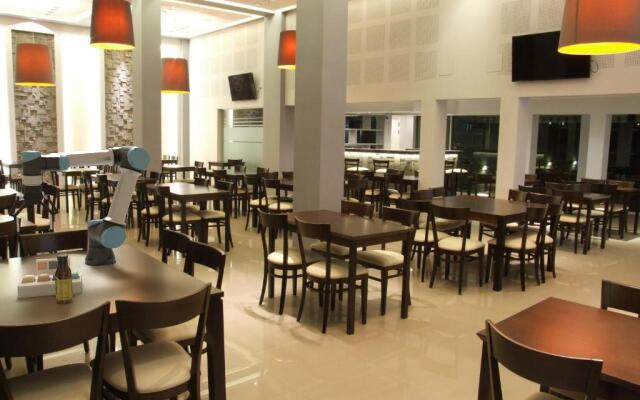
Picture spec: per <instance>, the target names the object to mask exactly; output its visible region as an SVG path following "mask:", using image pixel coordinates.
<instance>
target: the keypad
mask: <svg viewBox="0 0 640 400" xmlns="http://www.w3.org/2000/svg"><path fill="white" fill-rule="evenodd" d="M78 273H79V279H72V291H73V294H82V291H83V290H82V289H83V288H82V287H83V272H82V271H81V272H78ZM22 278H23V276H22V277H21V279H20V281H18V282H19V283H18V285H17V286H16V287H17V299H22V298H25V299H26V298H36V297H37V298H38V297H47V296H50V297H51V296H56V291H55V280H54V281H53V274H52V275H50V281H40V282H38V275H37V276H36V275H35V282H27V283H23V281H22Z"/></svg>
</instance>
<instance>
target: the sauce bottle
mask: <svg viewBox="0 0 640 400" xmlns="http://www.w3.org/2000/svg"><path fill="white" fill-rule="evenodd" d="M68 258H69V254H68V253H61V254H57V256H56V259H57V260H58V266H57V269H56V272H55V291H56V295H55V299H56V300H55V301H56V303H57V304H61V305H62V304H70V303H71V302H72V301H73V296H74V295H73V291H72V276H71V272H72V269H71V267H70V268H69V266H68Z"/></svg>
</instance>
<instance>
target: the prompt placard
mask: <svg viewBox="0 0 640 400" xmlns="http://www.w3.org/2000/svg"><path fill="white" fill-rule="evenodd" d="M57 266H58V260H57V258H42V259H36V260H35V271H36V272H35V273H36V275H35V276H37V275H39V274H50V275H52V274H54V273H55V272H56V269H57ZM68 266H69V268H70V269H71V257H68Z"/></svg>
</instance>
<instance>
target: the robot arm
mask: <svg viewBox="0 0 640 400" xmlns="http://www.w3.org/2000/svg"><path fill="white" fill-rule="evenodd" d="M150 162H151V156H150V153H149V152H148V150H147V149H146V148H143V147H141V146H138V145H123V146H118V147H117V146H115V147H108V148H107V149H105V150H89V151H88V150H87V151H72V152H70V151H69V152H57V153H55V152H54V153H46V152H45V153H41V151H39V150H29V151H28V150H26V151H25V150H24V151H23V152H22V154H21V164H22V167H21V168H22V181H23V182H22V183H23V195H16V197H15V201H14V203H13V205H12V207H11V209H10V211H9V213H8V216H9V217H11V218H13V224H14V225H16V232H17V233H18V232H20V224H19V223H20V222H19V215H20V213H21V212H22V211H23V210H24V209H25V208H26V207H27V206H28V205H30V206H33V205H35V206H38V205H40V206H42V207H43V208H44V209H45V210H46V211H47V212H48V213H49V228H50V230H53V223H55V221H56V220H55V216H56V215H57V214H59V210H58V208H57V207H56V206H55V204H54V202H53V201H52V199H51V194H49V193H48V194H43V185H42V183H43V178H42V172H62V171H68V170H69V168H78V167H92V166H94V167H95V166H104V165H105V166H106V165H107V166H109V167H119V170H120V175H119V178H118V182H117V184H116V188H115V191H114V194H113V197H112V200H111V203H110V207H109V210H108V213H107V216H105V217H104V218H102V219H92V220H89V221H87V226H86V227H87V248H88V249H87V251H86V255H85V257H84V263H85V264H86V265H88V266H103V265H109V264H113V263H115V262H116V259H117V258H116V254H115V251H114V249H118V248H119V247H121V246H122V245H123V244H124V243H125V242H126V239H127V233H126V228H127V223H126V221H125V220H126V217H127V214H128V211H129V207H130V203H131V201H132V197H133V194H134V190H135V188H136V186H137V185H136V184H137V182H138V180H139V179H138V178H139V177H140V176H142V175H143V172H144V169H146V168H147V167H148V166H149V165H150ZM43 199H45V200H47V201H48V203H49V204H50V206H51V208H52V209H53V210H52V209H51V208H50V207H49V206H48V205H47V204H46V203H44V202H43ZM22 200H24V202H23V204H22V205H21V206H20V207H19V208H18V209H17V210H16V208H17V206H18V204H19V202H20V201H22ZM15 211H16V212H15ZM14 212H15V213H14Z"/></svg>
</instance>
